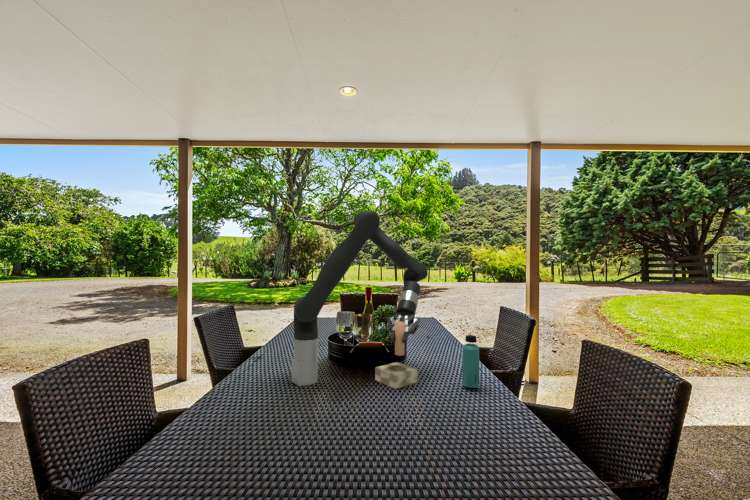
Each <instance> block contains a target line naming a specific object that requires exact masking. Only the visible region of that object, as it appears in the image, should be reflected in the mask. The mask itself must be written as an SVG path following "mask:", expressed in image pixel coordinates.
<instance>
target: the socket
mask: <svg viewBox="0 0 750 500" xmlns="http://www.w3.org/2000/svg"><path fill="white" fill-rule="evenodd" d="M418 379H419V368H415V367H413V366H410V365H407V364H404V363H401V362H399V361H396V362H391V363H388V364H384V365H380V366H379V365H378V366H376V367H375V368H374V381H376V382H379V383H381V384H384V385H386V386H388V387H390V388H392V389H395V390H396V389H400V388H402V387H406V386H409V385H413V384H415V383H418V382H419V380H418Z"/></svg>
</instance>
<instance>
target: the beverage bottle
mask: <svg viewBox="0 0 750 500" xmlns="http://www.w3.org/2000/svg"><path fill="white" fill-rule="evenodd" d="M464 341H465V342H466V343H465V344H464V345H463V346H462V366H461V367H462V371H461V373H462V375H461V380H462V381H461V383H462V385H463V386H464V387H467V388H473V389H474V388H478V387H479V386H480V381H481V380H480V347H479V345H477V344H475V343H477V341H478V340H477V336H476V335H472V334H468V335H466V336H465V340H464Z"/></svg>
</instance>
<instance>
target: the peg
mask: <svg viewBox="0 0 750 500" xmlns="http://www.w3.org/2000/svg"><path fill="white" fill-rule="evenodd" d="M394 324H395V342H394V355H396V356H400V357H401V356H405V352H406V351H405V344H406V342H405V343H403V342H402V339H403V335H404V332H405V322H401V321H398V322H395V321H394Z"/></svg>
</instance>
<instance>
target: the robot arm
mask: <svg viewBox="0 0 750 500" xmlns="http://www.w3.org/2000/svg"><path fill="white" fill-rule="evenodd" d="M380 220H381V219H380V216H379V213H377V212H376V211H375V210H373V209H372V210H370V209H369V210H368V209H367V210H362V211H359V212H357V213H356V214H355V215H354V217H353V228H352V229H351V231H350V232H349V234H348V235H347V236H346V237H345V239H344V240H342V241H341V242H340V243H339V244H338V245H337V246H336V247H335V248H334V250H333V251H331V253H330V254H329V256H328V257H327V259H326V260H325V262H324V263H323V264H322V267H321V269H320V271H319V273H318V274H317V278H316V279H315V281H314V283H313V285H312V286H311V288H310V289H309V290H308V291H307V293H306V294H305V295H304V296H300V297H298V298H297V300H296V301H295V302H294V305H293V357H291V374H290V375H291V383H293V384H294V385H296V386H298V387H302V386H311V385H314V384H316V383H318V377H319V376H318V373H319V372H318V371H319V370H318V367H319V366H318V365H319V364H318V361H319V360H318V359H319V356H318V355H319V354H318V353H319V329H318V316H319V314H320V313H321V311H322V308H323V307H324V305H325V303H326V301H327V299H328V298H329V296H330V295H331V293H332V292H333V291H334V289H336V287H337V285H339V283H340V282H341V280H342V279H343V277H344V276H345V275H346V273H347V272H348V270H349V269H350V267H351V266H352V264H353V263H354V261H355V260H356V258H357V257H358V255H359V253H360V252H361V250H362V248H363V247H364V246H365V244H366V243H367V242H368V241H369V240H370V241H371V242H372V243H373V244H375V245H376V246H377V247H378V249H380V250H381V252H383V253H384V255H386V256H387V257H388V258H389V260H390V261H391V262H393V264H394V265H395V266H397V268H398V269H405V271H404V273H403V276H402V277H403V287H402V292H401V294H400V296H399V300H398V303H397V307H396V310H395V311H396V312H395V313H394V314H393V316H391V317H390V316H387V317H386V321H387V328H388V332H389V333H391V334H390V341H391V342H392V343H395V322H398V321H401V322H405V332H404V335H403V339H402V342H403V343H405V344H406V343H407V342H408V338H409V335H414V334H415V333H416V331H417V330H418V328H419V327H420V326H421V324H422V323H421V322H422V321H421V320H420V318H415V317H416V316H415V315H416V311H417V309H418V308H417V307H418V304H419V297H420V292H421V286H420V284H419V283H418V282H420V281H423V280H425V279H427V277H428V274H429V272H428V269H427V267H426V265H425V264H424V263H422V262H421V261H419V260H417V258H414V257H413V256H411V255H410V254H409V253H408V252H407V251H406V250H405V249H404V248H403V247H402V246H401V245H400V244H399V243H398V242H397V241H395V240H394V239H392V238H391V237H390V236H389V235H388V234H387V233H385V232H384V231H383V230H382V229H381V227H379V226H380V224H381V223H380V222H381V221H380ZM393 322H394V323H393ZM392 324H393V325H392ZM411 325H412V326H411ZM410 326H411V327H410Z"/></svg>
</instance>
